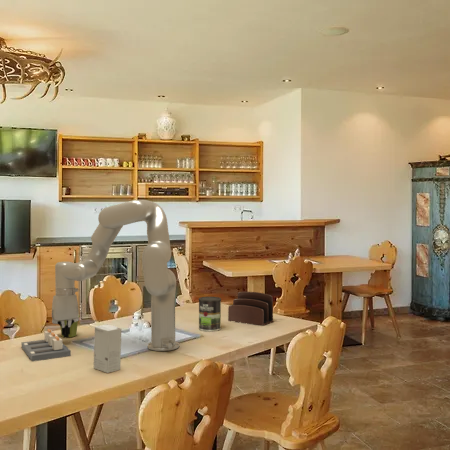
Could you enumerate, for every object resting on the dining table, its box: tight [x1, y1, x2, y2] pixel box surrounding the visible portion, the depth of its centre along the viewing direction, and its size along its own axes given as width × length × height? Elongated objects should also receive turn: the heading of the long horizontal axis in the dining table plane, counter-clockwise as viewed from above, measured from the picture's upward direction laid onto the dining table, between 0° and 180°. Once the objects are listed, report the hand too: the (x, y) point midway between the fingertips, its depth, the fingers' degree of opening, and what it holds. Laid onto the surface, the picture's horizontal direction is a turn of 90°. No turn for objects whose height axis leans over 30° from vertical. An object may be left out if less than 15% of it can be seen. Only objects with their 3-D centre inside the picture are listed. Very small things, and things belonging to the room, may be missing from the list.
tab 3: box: [52, 336, 63, 350], centre depth 202 cm, size 4×3×4 cm
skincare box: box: [93, 324, 122, 374], centre depth 184 cm, size 8×6×15 cm
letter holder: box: [227, 291, 274, 327], centre depth 258 cm, size 10×20×14 cm, turn 57°
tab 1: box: [44, 328, 55, 342], centre depth 214 cm, size 4×3×4 cm
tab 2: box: [48, 331, 59, 346], centre depth 208 cm, size 4×3×4 cm
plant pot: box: [59, 314, 81, 338], centre depth 231 cm, size 9×9×9 cm
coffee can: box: [198, 296, 222, 332], centre depth 243 cm, size 10×10×14 cm
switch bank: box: [21, 339, 72, 362], centre depth 207 cm, size 22×14×2 cm, turn 30°
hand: (65, 336), depth 218 cm, fingers closed
